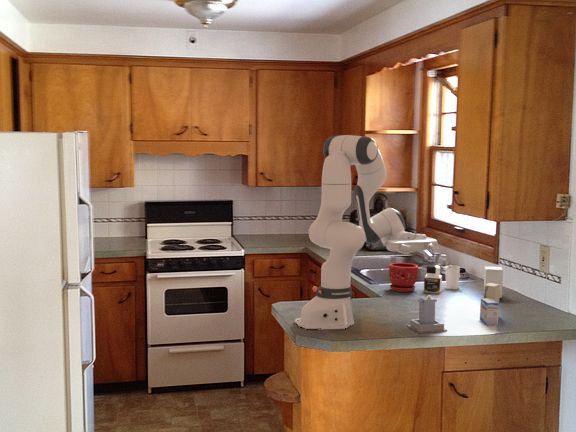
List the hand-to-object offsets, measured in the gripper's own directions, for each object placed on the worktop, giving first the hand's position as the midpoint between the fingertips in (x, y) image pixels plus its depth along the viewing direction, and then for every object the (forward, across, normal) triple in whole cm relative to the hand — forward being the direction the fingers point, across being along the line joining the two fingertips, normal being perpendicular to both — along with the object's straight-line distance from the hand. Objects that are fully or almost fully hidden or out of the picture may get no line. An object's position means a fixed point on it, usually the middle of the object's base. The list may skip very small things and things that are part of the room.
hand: (420, 247), depth 272 cm
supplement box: (-28, +50, +28) cm, 64 cm away
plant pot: (-50, +17, +28) cm, 60 cm away
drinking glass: (-48, +41, +28) cm, 69 cm away
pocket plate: (+13, -4, +28) cm, 31 cm away
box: (+4, +29, +28) cm, 41 cm away
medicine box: (+12, +23, +28) cm, 38 cm away
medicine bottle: (-44, +29, +28) cm, 60 cm away
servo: (+13, -4, +28) cm, 31 cm away
